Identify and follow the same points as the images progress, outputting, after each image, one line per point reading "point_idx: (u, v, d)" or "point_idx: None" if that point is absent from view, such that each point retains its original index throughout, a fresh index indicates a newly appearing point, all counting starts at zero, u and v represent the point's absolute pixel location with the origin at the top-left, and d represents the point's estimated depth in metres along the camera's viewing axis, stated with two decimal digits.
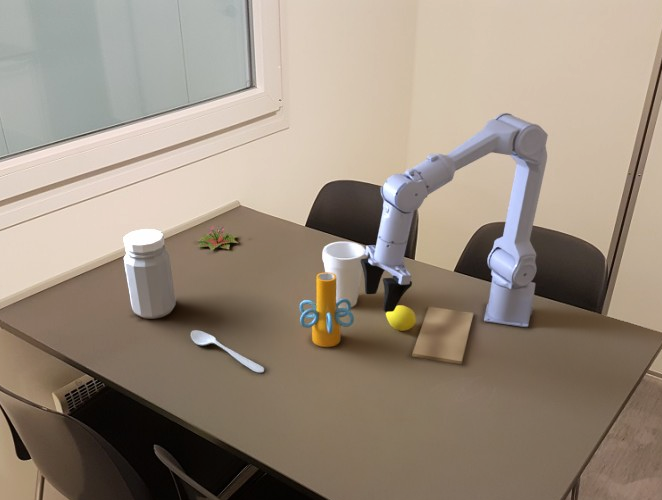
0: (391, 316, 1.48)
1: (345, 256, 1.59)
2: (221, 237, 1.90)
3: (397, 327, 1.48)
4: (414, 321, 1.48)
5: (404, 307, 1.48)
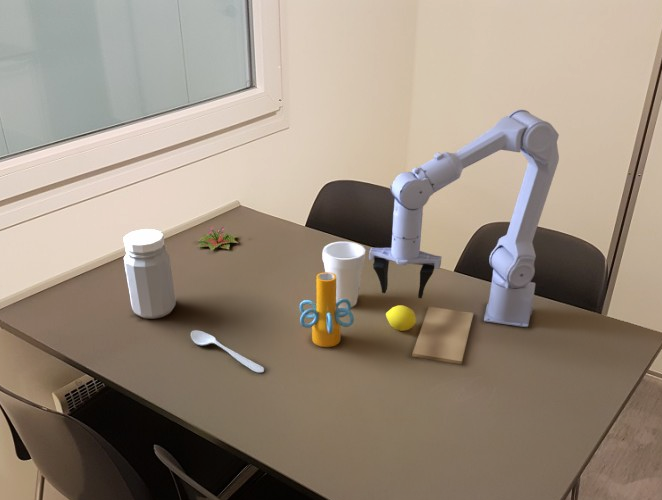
0: (391, 316, 1.48)
1: (345, 256, 1.59)
2: (221, 237, 1.90)
3: (397, 327, 1.48)
4: (414, 321, 1.48)
5: (404, 307, 1.48)
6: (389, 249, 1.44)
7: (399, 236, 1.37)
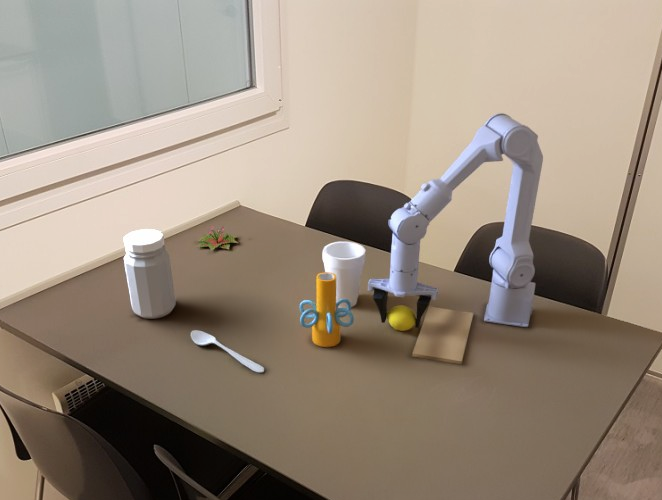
0: (391, 316, 1.48)
1: (345, 256, 1.59)
2: (221, 237, 1.90)
3: (397, 327, 1.48)
4: (414, 321, 1.48)
5: (404, 307, 1.48)
6: (387, 280, 1.48)
7: (397, 269, 1.41)
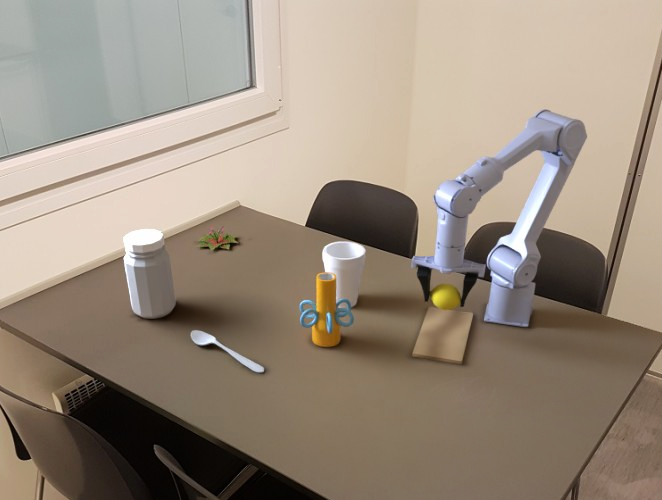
0: (436, 294, 1.42)
1: (345, 256, 1.59)
2: (221, 237, 1.90)
3: (442, 306, 1.42)
4: (459, 300, 1.42)
5: (449, 285, 1.42)
6: (432, 257, 1.42)
7: (447, 245, 1.35)
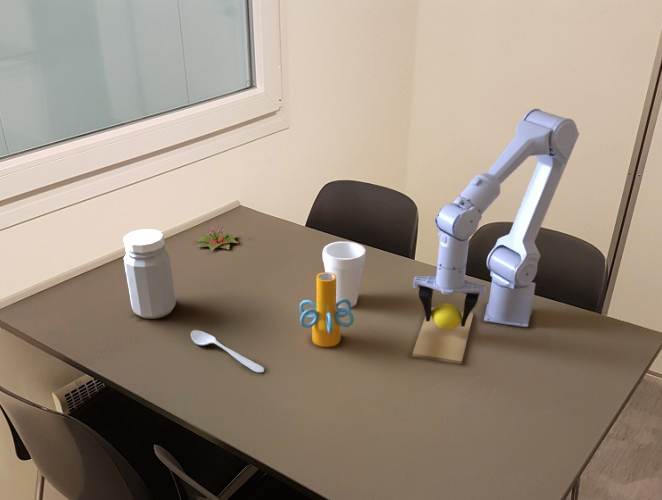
0: (437, 314, 1.45)
1: (345, 256, 1.59)
2: (221, 237, 1.90)
3: (443, 326, 1.45)
4: (460, 320, 1.44)
5: (450, 305, 1.45)
6: (433, 277, 1.44)
7: (449, 267, 1.37)
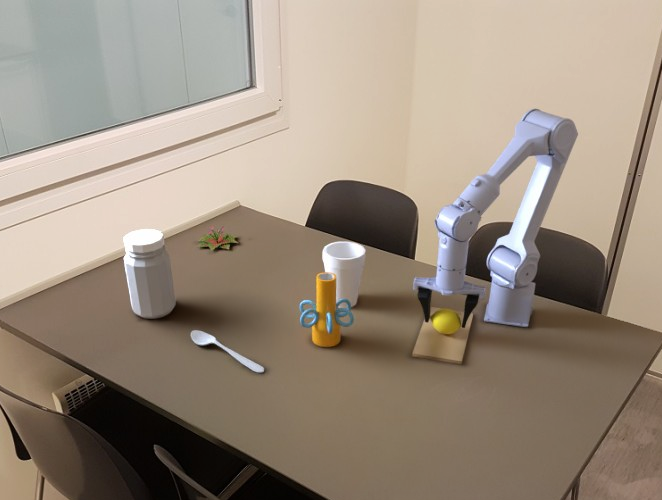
0: (436, 319, 1.45)
1: (345, 256, 1.59)
2: (221, 237, 1.90)
3: (442, 331, 1.45)
4: (460, 324, 1.45)
5: (449, 310, 1.45)
6: (433, 279, 1.44)
7: (449, 268, 1.37)
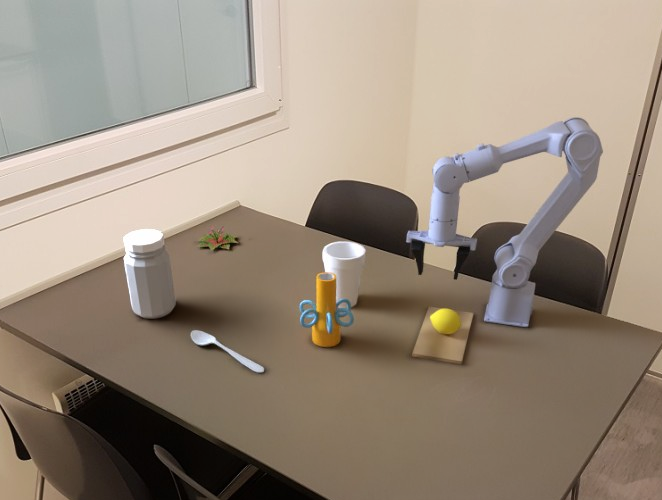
0: (436, 319, 1.45)
1: (345, 256, 1.59)
2: (221, 237, 1.90)
3: (442, 331, 1.45)
4: (460, 324, 1.45)
5: (449, 310, 1.45)
6: (426, 232, 1.49)
7: (433, 218, 1.43)
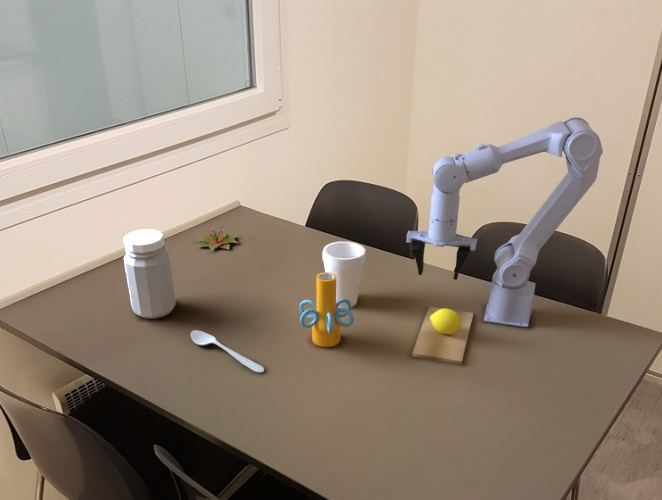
0: (436, 319, 1.45)
1: (345, 256, 1.59)
2: (221, 237, 1.90)
3: (442, 331, 1.45)
4: (460, 324, 1.45)
5: (449, 310, 1.45)
6: (426, 232, 1.49)
7: (433, 218, 1.43)
